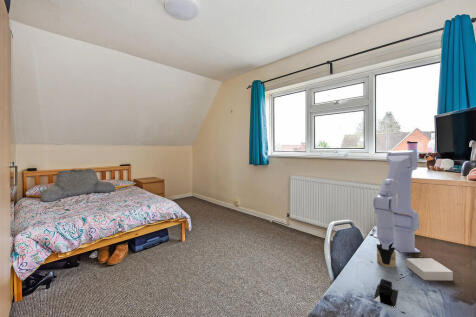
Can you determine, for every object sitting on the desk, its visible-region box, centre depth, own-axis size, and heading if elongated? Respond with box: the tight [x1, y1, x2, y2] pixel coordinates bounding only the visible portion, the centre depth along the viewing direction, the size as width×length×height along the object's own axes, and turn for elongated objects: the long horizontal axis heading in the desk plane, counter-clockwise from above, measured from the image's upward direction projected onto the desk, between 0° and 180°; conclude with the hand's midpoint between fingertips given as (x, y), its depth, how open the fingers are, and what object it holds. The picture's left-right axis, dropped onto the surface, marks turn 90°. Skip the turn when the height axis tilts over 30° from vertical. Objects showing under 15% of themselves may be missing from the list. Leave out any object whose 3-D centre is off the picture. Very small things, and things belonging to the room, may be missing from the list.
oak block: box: [376, 248, 397, 268], centre depth 85 cm, size 4×4×6 cm
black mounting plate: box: [373, 278, 399, 308], centre depth 67 cm, size 12×7×5 cm, turn 139°
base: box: [405, 257, 454, 281], centre depth 78 cm, size 9×9×3 cm
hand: (386, 259), depth 85 cm, fingers closed on oak block, 6 cm apart
